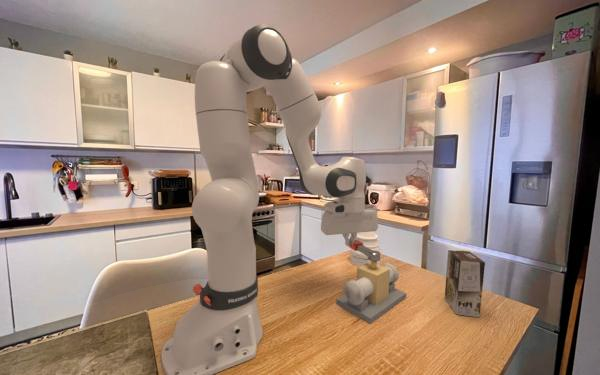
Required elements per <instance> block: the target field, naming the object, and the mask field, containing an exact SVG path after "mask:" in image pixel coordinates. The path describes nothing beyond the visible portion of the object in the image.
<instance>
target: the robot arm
mask: <svg viewBox="0 0 600 375" xmlns="http://www.w3.org/2000/svg"><path fill="white" fill-rule="evenodd" d="M261 88H263V89H264V90H266V91H267V92H268V93H269V94H270V96H271V97H272V99H273V101H274V104H275V106H276V108H277V111H278V113H279V115H280V118H281V120H282V122H283V125H284V127H285V136H286V140H287V142H288V145H289V148H290V151H291V154H292V156H293V158H294V162H295V164H296V167H297V170H298V173H299V174H298V175H299V184H300V187H301V189H302V190H303V191H304V193H305V194H308V195H311V196H321V197H326V198H336V199H334V200H331V201H329V202H326V203H324V205H323V209H324V210H325V211H324V212H323V213H322V217H321V221H320V222H321V223H320V231H321V232H322V233H323V234H324V235H326V236H334V235H342V237H343V238H344V241H345V243H344V244H345V246H346V247H349V246H353V245H354V240H355V238H356V237H357V233H360V232H373V231H374V232H377V230H378V228H379V219H378V207H377V206H376V205H375V204H366V194H365V187H366V183H367V168H366V162H365V160H364V159H363V158H361V157H357V156H353V155H345V156H342V157H341V159H340V160H338V161H337V162H336V163H334V164H331V165H330V166H329V165H328V166H325V165H324V166H323V165H322V166H321V165H319V163H317V161H315V158H314V154H313V152H312V148H311V146H310V141H309V139H310V138H309V137H310V135H311V134H312V132H313V131H314V130H315V129H316V128H317V127H318V125H319V122H320V121H321V117H322V110H321V106H320V101H319V99H318V97H317V95H316V93H315V90H314V88H313V84H311V81H310V78H309V77H308V76H307V73H306V72H305V70H304V69H303V67H302V65H301V64H300V63H299V61H298V60H297V59H295V58H293V57H292V53H291V51H290V48H289V45H288V43H287V41H286V39H285V38H284V36H282V34H281V33H280V31H278V29H276V28H275V27H274V26H271V25H270V24H266V23H262V24H257V25H255V26H253V27H251V28H249V29H247V30H246V31H245V32H244V34H243V35H241V37H239V38H238V39H237V40H236V41H234V42H233V43H232V44H231V45H230V46H229V48H227V51H226V52H225V53H224V54H223V56H221V57H220V59H219V60H211V61H207V62H204V63H203V64H201V65H200V66H199V67H198V69H197V70H196V74H195V80H194V108H195V110H194V111H195V118H196V126H197V127H196V128H197V134H198V143H199V144H198V145H199V151H200V154H201V156H202V157H203V159H204V161H205V164H206V166H207V169H208V172H209V176H210V178H211V180H210V182H208V183H206V184H205V185H204V186H203V187H202V188H201V189H200V190H199V191H198V192H197V193H196V195H195V196H194V198H193V201H192V205H191V213H192V217H193V219H194V222H195V223H196V224H197V226H198V227H199V228H200V230H201V233H202V236H203V241H204V244H205V248H206V254H207V255H206V256H207V282H206V283H205V286H204V287H203V286H202V285H201V284H200V283H196V284H194V286H193V287H192V291H193V293H194V294H195V295H196V296H199V300H198V301H197V302H196V303H195V304H194V305H193V306H192V307H191V308H190V309H189V310H188V311H187V312H186V313H185V314H184V315H183V316H182V317H181V318H180V319H178V321H177V322H176V324H175V327H174V329H173V330H174V331H173V334H172V337H171V338H169V339H168V340H166V341H165V343H164V345H163V347H162V349H161V357H160V358H161V359H160V360H161V365H162V369H163V371H164V373H165V375H214V374H215V375H216V374H218V373H219V372H222V371H224V370H227V369H230V368H232V367H235V366H236V365H237V366H238V365H239V364H242V363H244V362H248V361H250V360H252V359H254V358H255V357H256V355H257V349H258V345H259V344H260V341H261V339H262V337H263V334H264V329H263V325H262V323H261V319H260V314H259V309H258V308H259V307H258V295H259V283H258V282H259V281H258V280H259V279H258V276H257V252H256V251H257V248H256V244H255V239H254V231H253V230H254V229H253V223H252V222H253V213H254V211H255V210H256V209H257V207H258V205H259V203H260V202H259V201H260V192H259V191H260V190H259V187H258V185H259V184H258V177H257V173H256V172H257V171H256V169H255V168H256V167H255V163H254V162H255V161H254V159H253V158H254V157H253V154H252V145H251V138H250V125H249V116H248V106H247V95H248V94H250V93H252V92H254V91H256V90H258V89H261Z"/></svg>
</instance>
